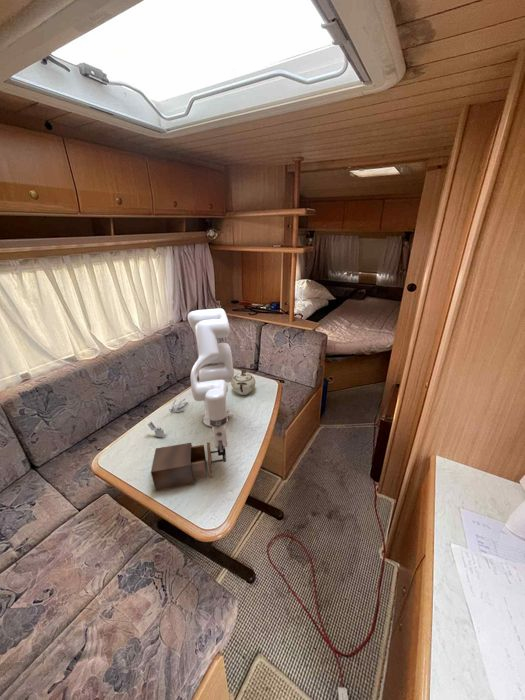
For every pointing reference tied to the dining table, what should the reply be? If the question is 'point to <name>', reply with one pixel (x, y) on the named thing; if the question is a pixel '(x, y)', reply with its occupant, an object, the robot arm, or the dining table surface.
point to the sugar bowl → (243, 383)
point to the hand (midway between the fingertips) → (221, 454)
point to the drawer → (202, 461)
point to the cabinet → (172, 466)
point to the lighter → (157, 430)
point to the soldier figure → (177, 406)
